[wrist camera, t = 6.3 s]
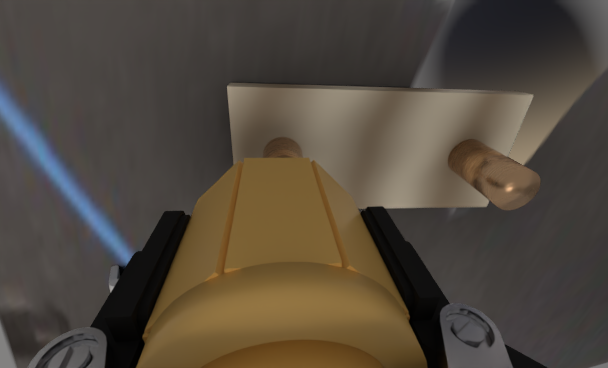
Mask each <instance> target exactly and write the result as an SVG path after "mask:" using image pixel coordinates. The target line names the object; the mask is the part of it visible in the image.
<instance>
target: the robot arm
mask: <svg viewBox="0 0 608 368" xmlns="http://www.w3.org/2000/svg"><path fill="white" fill-rule="evenodd" d="M361 216H362V218H363V220H364V222H365V224H366V226H367V228H368V230H369V232H370V235H371V237H372V239H373V241H374V243H375V245H376V247H377V249H378V251H379V253H380V255H381V257H382V259H383V261H384V263H385V265H386V267H387V269H388V271H389V273H390V275H391V277H392V279H393V281H394V283H395V285H396V287H397V289H398V291H399V293H400V295H401V297H402V299H403V301H404V304H405V306H406V308H407V310H408V312H409V313H408V314H409V316H410V319H409V324H410V326H411V328H412V330H413V332H414V334H415V336H416V338H417V340H418V342H419V345H420V347H421V349H422V351H423V353H424V356H425V358H426V361H427V368H547V367H545V366H543V365H542V364H540V363H538V362H536V361H534V360H533V359H531V358H529V357H527V356H525V355H524V354H522V353H520V352H518V351H516V350H514V349H513V348H511V347H509V346H507V345H505V344H504V342H503V339H502V337H501V334H500V332H499V330H498V329H497V327H496V325H495V324H494V323H493V322H492V321H491V320H490V319H489V318H488V317H487V316H486V315H484V314H483V313H482V312H480V311H478V310H477V309H475V308H473V307H471V306H468V305H465V304H458V303H453V304H450V303H449V302H448V300H447V299H446V297H445V296H444V294H443V293H442V291H441V290H440V288H439V286H438V285H437V283H436V282H435V280H434V279H433V277H432V276H431V274H430V273H429V271H428V269H427V268H426V266H425V265H424V263H423V262H422V260H421V259H420V257H419V256H418V254H417V253H416V251H415V249H414V248H413V246H412V245H411V244H410V243H409V242H407V241H405V239H404V238H403V236H402V235H401V233H400V231H399V230H398V228H397V227H396V225H395V224H394V222H393V220H392V219H391V217H390V216H389V214H388V213H387V211H386V209H385V208H384V207H383V206H373V207H367V208H366V211H362V212H361ZM190 218H191V217H190V215H185V213H184V211H165V212H164V213H163V215H162V217H161V219H160V220H159V222H158V224H157V226H156V227H155V229H154V231H153V233H152V234H151V236H150V238H149V240H148V241H147V243H146V245H145V247H144V248H143V250H142V251H138V252H136V253H135V254H134V255H133V256H132V258H131V259H130V261H129V263H128V264H127V266H126V268H125V269H124V271H123V273H122V275H121V276H120V278H119V280H118V281H117V283H116V285H115V286H114V288H113V290H112V291H111V293H110V295H109V296H108V298H107V300H106V301H105V303H104V305H103V306H102V308H101V310H100V311H99V313H98V315H97V316H96V318H95V320H94V321H93V323H92V325H91V326H90V327H84V328H80V329H75V330H72V331H70V332H67V333H65V334H63V335H61V336H59V337H58V338H56V339H54V340H53V341H51V342H50V343H49V344H47V345H46V346H45V347H44V348H43V349H42V350H40V351H39V352H38V354H37V355H36V356H35V357H34V358H33V360H32V361H31V362H30V364H29V366H28V368H136V366H137V363H138V361H139V358H140V356H141V353H142V351H143V348H144V345H145V343H144V340H143V338H142V337H143V334H144V331H145V328H146V326H147V323H148V321H149V318H150V316H151V314H152V311H153V309H154V306H155V304H156V301H157V299H158V296H159V294H160V291H161V289H162V286H163V284H164V282H165V279H166V277H167V274H168V272H169V269H170V267H171V264H172V262H173V259H174V257H175V254H176V252H177V250H178V247H179V245H180V242H181V240H182V237H183V235H184V232H185V230H186V227H187V225H188V222H189V220H190Z"/></svg>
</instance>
